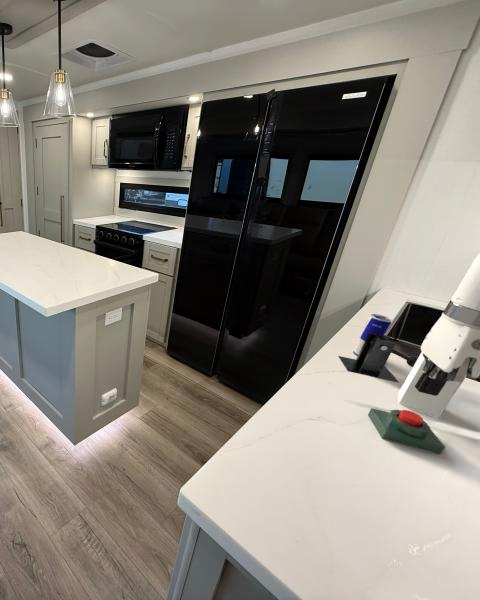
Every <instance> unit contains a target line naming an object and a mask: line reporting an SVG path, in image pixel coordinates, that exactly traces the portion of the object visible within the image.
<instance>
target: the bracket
mask: <svg viewBox="0 0 480 600" xmlns="http://www.w3.org/2000/svg"><path fill="white" fill-rule="evenodd" d="M376 336H377V337H379V338H381V339H383V340H380V339H375V340H374V342H373V344H371V343H370V341H371V340H372V339H374V338H375V337H376ZM389 339H390V337H389V336H388V335H380V334H375V333H369V334H368V336H367V338H366V340H365V342H364V344H363V346H362V348H361V351H360V353H359V355H358V356H356V359H355V358H351V357H346V356H340V355H338V356H337V357H338V359H339V360H340V362H341V363H342V365H343V366H344V368H345V369H346V371H347V372H350V373H353V374H359V375H363V376H367V377H372V378H375V379H376V378H377V379H380V380H386V381H390V382H394V383H397V384H398V383H399V384H400V381H399V380H398V379H397V378H396V377H395V376H394V374H393V373H392V372H391V371H390V370H389V368H387V366H386V363H387V361H388V360H389V357H390V356H391V354H392V350H393V348H394V349H395V346H396V342H394V341H390V340H389Z"/></svg>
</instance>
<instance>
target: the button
mask: <svg viewBox="0 0 480 600" xmlns="http://www.w3.org/2000/svg"><path fill="white" fill-rule="evenodd" d="M398 418H399V419H400V420H401V421H402V422H404V423H406V424H408V425H410V426H413V427H417V428H418V427H420V425H421V424H422V422H423V421H424V418H423V417H422V416H421V415H419V414H418V413H416V412H414V411H411V410H407V409H402V410H401V412H400V414H399V416H398Z"/></svg>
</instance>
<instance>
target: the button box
mask: <svg viewBox="0 0 480 600" xmlns="http://www.w3.org/2000/svg"><path fill="white" fill-rule="evenodd" d="M401 411H402V410H401V409H391V410H389V412H388V411H385V410H382V409H381V410H380V409H377V408H374V407H373V408H372V407H371V408H370V410H369V411H368V413H367V416H368V418H369V419H370V421H371V423H372V424H373V426H374V428H375V429H376V431H377V433H378V434H379V436H380V437H381V439H383V440H386V441H390V442H393V443H397V444H401V445H403V446H404V445H405V446H408V447H411V448H415V449H418V450H423V451H426V452H429V453H433V454H436V455H441V454H442V453H443V452H444V450H445V449H446V446H445V445H444V444H443V442H442V441H441V440H440V439H439V437H437V434H435V433H434V431H433V430H432V429H431V427H430V425H429V424H428V423H427V422H426V421H425V420H423V422H422V424H421V425H420V427H418V428H417V427H413V426H410V425H408V424H406V423H404V422H402V421H401V420H400V419H399V418H398V416H399V414H400V412H401Z"/></svg>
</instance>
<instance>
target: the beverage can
mask: <svg viewBox="0 0 480 600" xmlns="http://www.w3.org/2000/svg"><path fill="white" fill-rule="evenodd" d="M392 322H393V319H392V318H391V317H388V316H386V315H384V314H377V313H371V314H370V316H369V318H368V319H367V321H366V324H365V326H364V328H363V330H362V332H361V334H360V336H359V338H358V341H357V342H356V345H355V347H354V349H353V351H352V353H353V354H354V355H355V356H356V357H358V355H359V353H360V351H361V348H362V346H363V344H364V342H365V340H366V338H367V336H368V334H369V333H375V334H380V335H386V334H387V333H388V331H389V329H390V328H391V325H392ZM386 336H387V335H386Z"/></svg>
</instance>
